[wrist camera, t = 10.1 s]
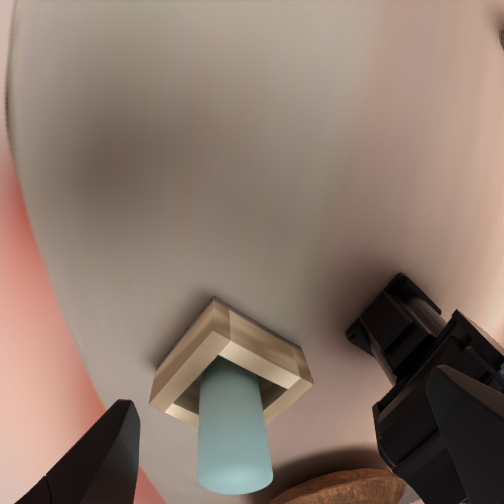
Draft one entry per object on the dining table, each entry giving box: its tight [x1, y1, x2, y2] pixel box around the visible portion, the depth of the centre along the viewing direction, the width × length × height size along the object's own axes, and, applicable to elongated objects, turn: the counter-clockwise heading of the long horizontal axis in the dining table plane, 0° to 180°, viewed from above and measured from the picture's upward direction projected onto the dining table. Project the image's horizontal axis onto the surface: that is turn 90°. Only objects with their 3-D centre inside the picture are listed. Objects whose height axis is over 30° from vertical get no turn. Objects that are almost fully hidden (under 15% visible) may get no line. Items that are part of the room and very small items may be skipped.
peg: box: [197, 355, 273, 495], centre depth 18 cm, size 4×4×10 cm
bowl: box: [269, 468, 407, 504], centre depth 31 cm, size 20×22×5 cm
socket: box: [149, 297, 314, 427], centre depth 22 cm, size 8×8×4 cm
